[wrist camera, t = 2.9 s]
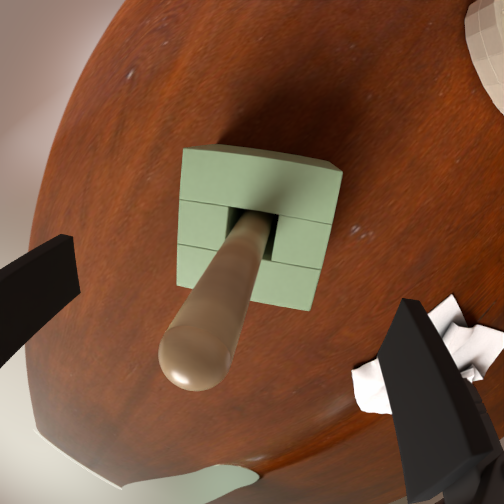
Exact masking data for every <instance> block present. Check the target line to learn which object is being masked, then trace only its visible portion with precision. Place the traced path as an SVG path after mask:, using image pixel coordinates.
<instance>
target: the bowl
mask: <svg viewBox="0 0 504 504" xmlns="http://www.w3.org/2000/svg"><path fill="white" fill-rule="evenodd" d="M465 36H466V42H467V45H468V49H469V52H470V56H471V60H472V62H473V65H474V67H475V69H476V71H477V73H478V75H479V78H480V80H481V82H482V85H483V87H484V88H485V90H486V91H487V93H488V94H489V96H490V98H491V99H492V101H493V102H494V104H495V106H496V107H497V108H498V109H499V111H500V112H501V113H502V114H503V115H504V0H476V1H475V2H473V3H472V4H471V5H469V8H468V11H467V14H466V17H465Z"/></svg>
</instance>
